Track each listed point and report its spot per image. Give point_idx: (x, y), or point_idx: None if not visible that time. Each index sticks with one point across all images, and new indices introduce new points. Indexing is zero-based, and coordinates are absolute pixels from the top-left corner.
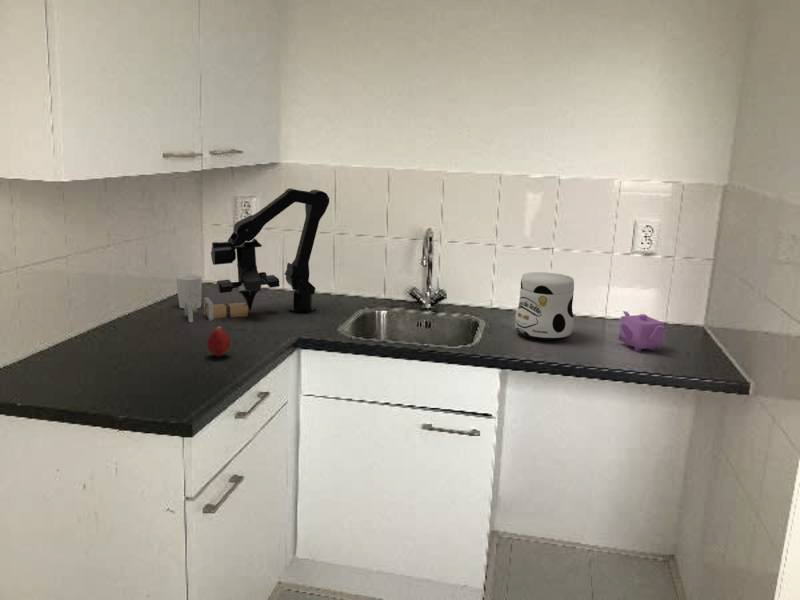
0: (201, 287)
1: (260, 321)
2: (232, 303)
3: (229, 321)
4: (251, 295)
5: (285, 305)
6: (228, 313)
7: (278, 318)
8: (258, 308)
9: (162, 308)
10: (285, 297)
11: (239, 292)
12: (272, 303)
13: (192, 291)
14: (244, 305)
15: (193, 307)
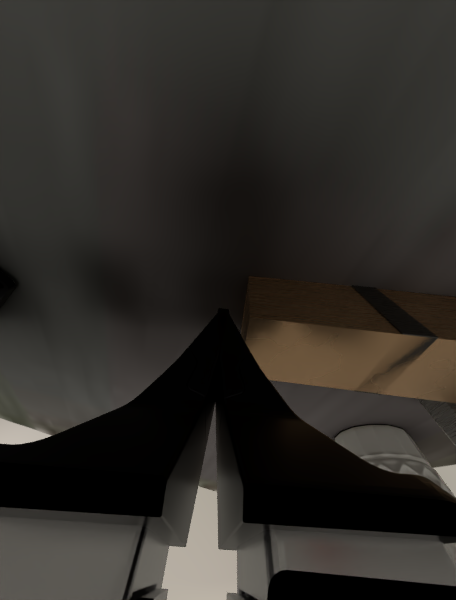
0: None
1: (211, 54)
2: (325, 383)
3: (440, 185)
4: (193, 398)
5: (61, 360)
6: (379, 300)
7: (49, 120)
8: (165, 363)
9: (452, 451)
10: (76, 415)
11: (441, 504)
12: (111, 390)
13: None
14: (275, 319)
15: (385, 430)
